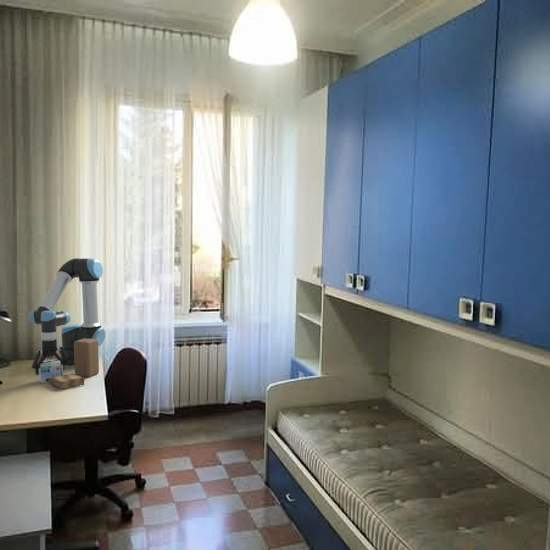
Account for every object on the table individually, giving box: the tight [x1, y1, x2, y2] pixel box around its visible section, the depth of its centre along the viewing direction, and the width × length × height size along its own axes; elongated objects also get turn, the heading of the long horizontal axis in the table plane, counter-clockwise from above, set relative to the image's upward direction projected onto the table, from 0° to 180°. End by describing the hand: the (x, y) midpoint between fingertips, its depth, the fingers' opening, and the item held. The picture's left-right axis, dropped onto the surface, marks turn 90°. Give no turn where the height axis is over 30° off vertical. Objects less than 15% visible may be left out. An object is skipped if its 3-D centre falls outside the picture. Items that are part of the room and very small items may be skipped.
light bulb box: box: [39, 359, 61, 384], centre depth 309 cm, size 11×7×11 cm, turn 117°
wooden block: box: [73, 338, 100, 378], centre depth 322 cm, size 10×10×20 cm
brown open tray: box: [48, 372, 85, 391], centre depth 301 cm, size 13×13×4 cm
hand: (50, 378), depth 310 cm, fingers closed on light bulb box, 12 cm apart
